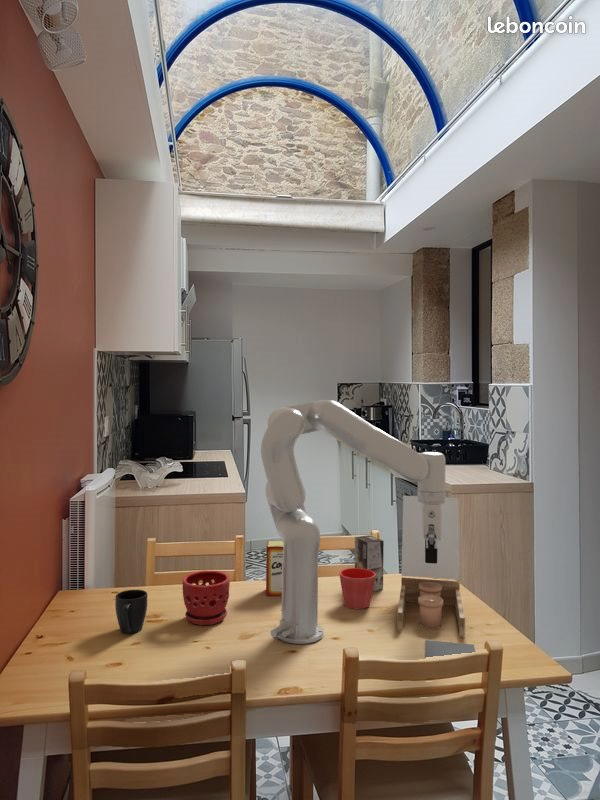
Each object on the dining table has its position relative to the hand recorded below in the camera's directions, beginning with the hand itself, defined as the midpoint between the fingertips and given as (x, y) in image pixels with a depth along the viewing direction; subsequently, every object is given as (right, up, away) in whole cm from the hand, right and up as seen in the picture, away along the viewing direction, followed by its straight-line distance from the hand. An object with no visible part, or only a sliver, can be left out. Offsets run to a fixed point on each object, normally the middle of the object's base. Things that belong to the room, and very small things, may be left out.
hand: (430, 558), depth 161 cm
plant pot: (-63, -18, +2) cm, 65 cm away
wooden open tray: (+1, -18, +5) cm, 19 cm away
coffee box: (-13, -19, +32) cm, 39 cm away
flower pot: (-19, -18, +15) cm, 30 cm away
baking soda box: (-43, -18, +25) cm, 53 cm away
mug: (-82, -18, -8) cm, 84 cm away
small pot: (0, -18, 0) cm, 18 cm away
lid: (+5, +1, +21) cm, 22 cm away
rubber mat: (+1, -18, -19) cm, 26 cm away
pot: (+2, -18, +12) cm, 22 cm away
